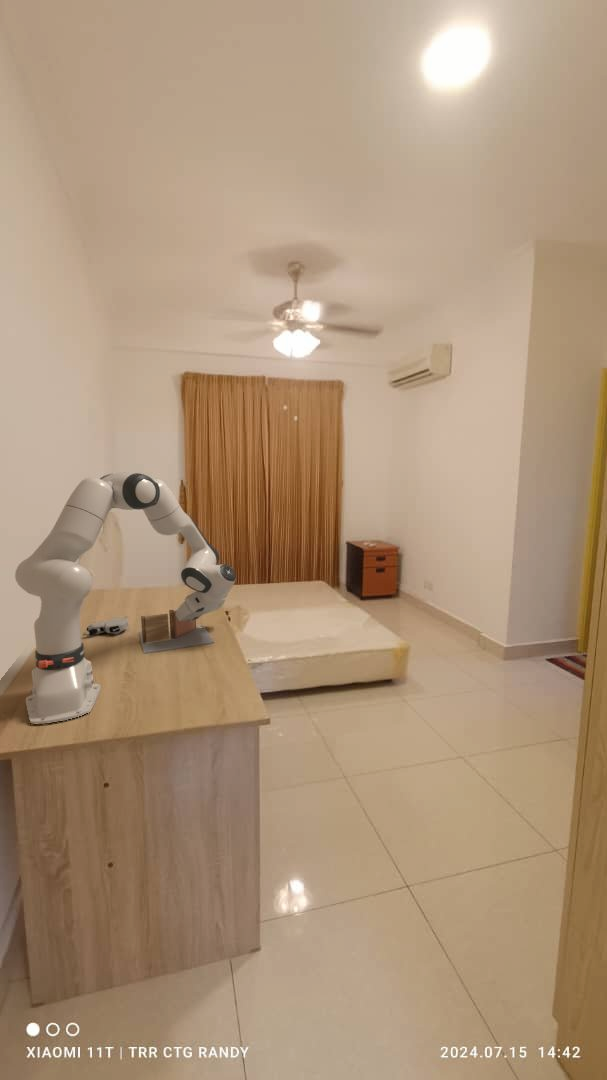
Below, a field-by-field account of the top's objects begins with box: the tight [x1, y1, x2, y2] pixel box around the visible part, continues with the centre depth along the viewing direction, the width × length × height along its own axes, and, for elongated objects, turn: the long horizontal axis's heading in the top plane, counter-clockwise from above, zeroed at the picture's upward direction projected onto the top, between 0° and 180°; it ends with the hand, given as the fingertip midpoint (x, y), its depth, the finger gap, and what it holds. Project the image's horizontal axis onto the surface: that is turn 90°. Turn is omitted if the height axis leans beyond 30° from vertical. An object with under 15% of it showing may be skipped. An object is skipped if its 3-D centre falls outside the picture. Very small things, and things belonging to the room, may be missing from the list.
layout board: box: [138, 623, 215, 655], centre depth 176 cm, size 22×24×1 cm
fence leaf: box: [174, 609, 197, 637], centre depth 180 cm, size 1×11×10 cm, turn 151°
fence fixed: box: [140, 609, 175, 643], centre depth 172 cm, size 2×11×11 cm, turn 113°
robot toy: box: [84, 615, 129, 636], centre depth 183 cm, size 12×4×15 cm
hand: (192, 619), depth 181 cm, fingers closed
